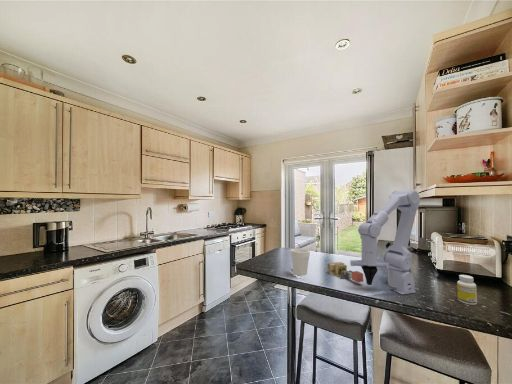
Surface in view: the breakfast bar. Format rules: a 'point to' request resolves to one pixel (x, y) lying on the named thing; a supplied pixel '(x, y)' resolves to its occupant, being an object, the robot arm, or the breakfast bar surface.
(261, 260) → the breakfast bar surface
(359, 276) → the orange grey block
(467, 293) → the supplement bottle
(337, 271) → the tan lumpy piece
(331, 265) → the bearing stand
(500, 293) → the breakfast bar surface
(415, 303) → the breakfast bar surface
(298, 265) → the foam cup
